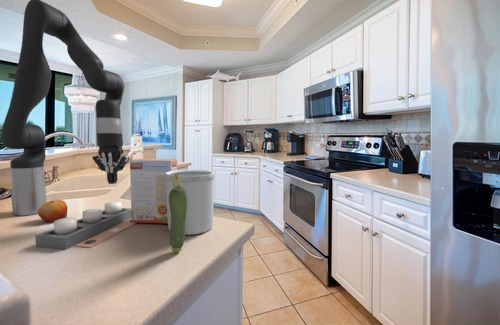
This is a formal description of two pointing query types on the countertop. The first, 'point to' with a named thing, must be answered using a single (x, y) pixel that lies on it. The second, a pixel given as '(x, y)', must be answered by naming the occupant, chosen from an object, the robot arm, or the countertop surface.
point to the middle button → (92, 215)
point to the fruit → (53, 210)
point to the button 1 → (65, 226)
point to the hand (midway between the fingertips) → (112, 183)
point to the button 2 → (113, 208)
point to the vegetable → (177, 214)
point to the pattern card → (106, 234)
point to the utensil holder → (194, 199)
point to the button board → (81, 231)
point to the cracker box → (150, 189)
